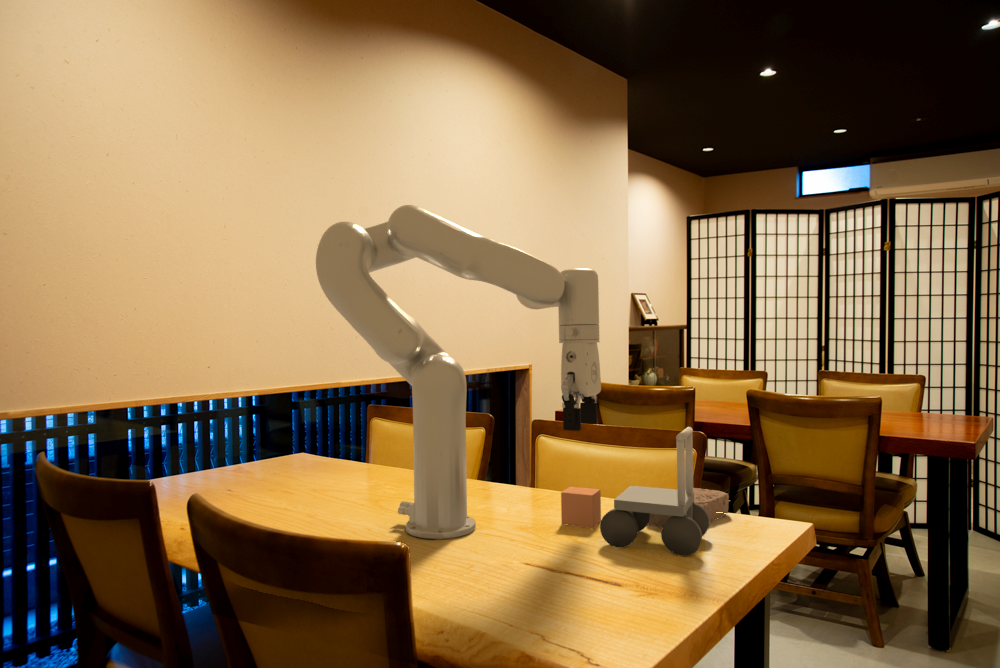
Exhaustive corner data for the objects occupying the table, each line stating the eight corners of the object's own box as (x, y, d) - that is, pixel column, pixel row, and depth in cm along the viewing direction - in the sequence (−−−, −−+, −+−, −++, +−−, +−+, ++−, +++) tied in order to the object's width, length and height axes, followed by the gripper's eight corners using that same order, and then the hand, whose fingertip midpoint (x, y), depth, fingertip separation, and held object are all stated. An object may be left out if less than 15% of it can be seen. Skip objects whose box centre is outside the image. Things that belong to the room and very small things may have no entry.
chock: (561, 524, 116) (561, 492, 116) (570, 517, 121) (570, 486, 121) (592, 528, 114) (592, 495, 114) (600, 521, 118) (600, 489, 118)
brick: (683, 534, 110) (683, 507, 110) (643, 524, 116) (643, 499, 116) (730, 517, 121) (730, 492, 121) (691, 508, 127) (691, 485, 127)
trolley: (599, 545, 104) (598, 430, 104) (617, 527, 114) (615, 422, 114) (700, 559, 97) (698, 436, 97) (710, 538, 107) (708, 427, 107)
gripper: (583, 334, 108) (585, 434, 108) (611, 334, 124) (613, 422, 124) (543, 335, 112) (545, 432, 111) (575, 335, 127) (576, 420, 127)
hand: (580, 426), depth 117 cm, fingers open, 9 cm apart
